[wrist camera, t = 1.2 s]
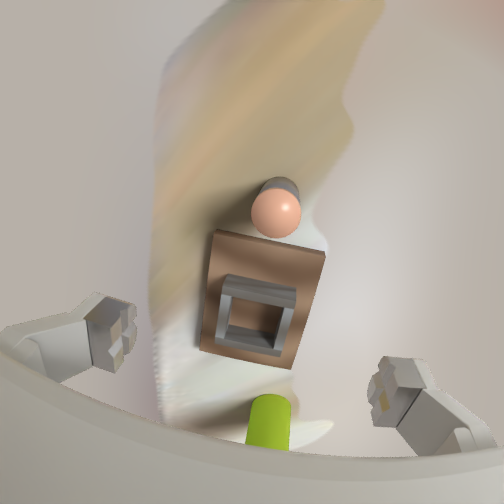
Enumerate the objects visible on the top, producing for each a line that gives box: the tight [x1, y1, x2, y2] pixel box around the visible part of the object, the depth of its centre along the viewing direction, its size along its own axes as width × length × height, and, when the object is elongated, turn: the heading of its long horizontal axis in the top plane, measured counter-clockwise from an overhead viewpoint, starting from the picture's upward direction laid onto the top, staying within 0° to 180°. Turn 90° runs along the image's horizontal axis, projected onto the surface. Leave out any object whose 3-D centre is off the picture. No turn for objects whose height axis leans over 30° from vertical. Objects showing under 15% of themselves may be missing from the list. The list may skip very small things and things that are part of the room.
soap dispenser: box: [245, 394, 291, 451], centre depth 35 cm, size 6×7×20 cm
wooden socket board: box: [200, 229, 326, 370], centre depth 35 cm, size 16×12×4 cm
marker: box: [251, 177, 301, 238], centre depth 29 cm, size 4×4×8 cm
